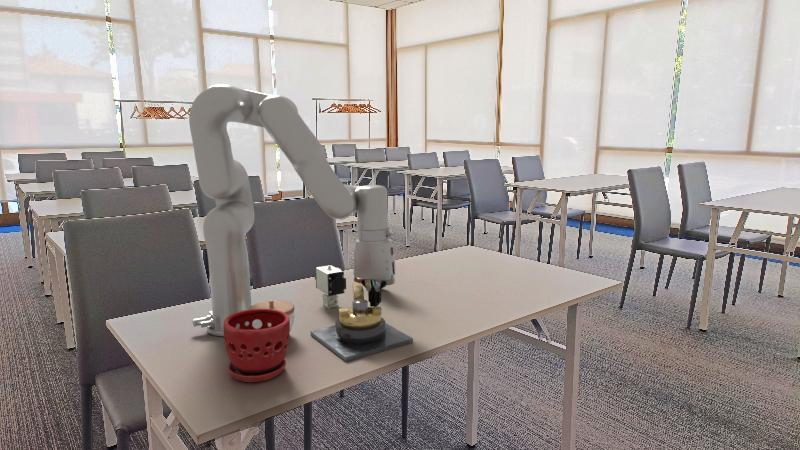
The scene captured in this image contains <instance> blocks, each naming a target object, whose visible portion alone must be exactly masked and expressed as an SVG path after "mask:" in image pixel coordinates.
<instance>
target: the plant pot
mask: <svg viewBox="0 0 800 450" xmlns="http://www.w3.org/2000/svg"><path fill="white" fill-rule="evenodd" d="M256 319H258V320H260V321H261V322H262V326H261V327H260V328H258V329H256V328H254V327H253V326H252V323H253V321H254V320H256ZM245 322H249V325H248V326H245ZM268 323H271V327H269V326H268ZM237 324H239V325H240V327H239V328H236V325H237ZM290 333H291V331H290V319H289V316H288V315H287V314H286V313H284V312H282V311H278V310H273V309H249V310H244V311H240V312H236V313H234V314H231V315H229V316H228V317H227V318H226V319H225V320H224V336H223V338H224V340H223V341H224V347H225V351H226V354H227V356H228V359H229V361H230V362H229V363H228V365H227V371H228V373H229V374H230V376H231V377H233V378H234V379H235V380H237V381H242V382H245V383H247V382H248V383H255V382H257V383H258V382H262V381H267V380H270V379H274V378H275V377H276V376H278V375H280V374H281V373H282V372H283V371H284V370H285V368H286V365H287V361H286V358H285V356H286V354H287V351H288V347H289V341H290Z"/></svg>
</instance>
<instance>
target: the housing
mask: <svg viewBox="0 0 800 450" xmlns="http://www.w3.org/2000/svg"><path fill="white" fill-rule="evenodd" d="M310 336H311V337H313V339H315V340H316V341H317V342H319V343H320V344H321V345H323V346H324V347H326V348H327V349H328V350H330V351H331V352H332V353H334V354H335V355H336V356H337V357H339V358H340V359H342V360H343V361H344V362H350V361H353V360H356V359H360V358H363V357H367V356H370V355H373V354H377V353H380V352H384V351H387V350H391V349H395V348H397V347H398V348H399V347H402V346H406V345H409V344H412V343H414V338H413V337H412V336H410V335H408V334H406V333H404V332H403V331H400V330H399V329H397V328H395V327H394V326H392V325H390V324H388V323H387V322H386V320H385V319H384V318H383V317H381V323H380V325H378V326H376V327H374V328H370V329H363V330H354V329H348V328H344V327H342V326H341V325H340V323H339V319H337V320H336V321H335V324H334V325H331V326H327V327H323V328H319V329H313V330H311V331H310Z"/></svg>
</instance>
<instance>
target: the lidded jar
mask: <svg viewBox="0 0 800 450" xmlns="http://www.w3.org/2000/svg"><path fill="white" fill-rule="evenodd" d="M249 309H273V310H278V311H282V312H284V313H286V314H287V315H288V316H289V319H290V332H291V331H292V329H293V326H294V322H295V304H294V303H293V302H290V301H288V300H281V299H274V300H273V299H268V300H264V301H260V302H256V303H254V304H251V307H250V308H249ZM252 326H253V327H254V328H256V329H258V328H260V327H261V326H262V322H261V321H260V320H258V319H256V320H254V321H253V323H252ZM268 326H269V327H271V323H268Z"/></svg>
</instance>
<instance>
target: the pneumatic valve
mask: <svg viewBox="0 0 800 450" xmlns="http://www.w3.org/2000/svg"><path fill="white" fill-rule="evenodd" d="M314 268H315V271H314V272H315V273H314V281H315V288H316V289H317V290H319V291H320V292H322V293H323V294H322V302H323V303H322V306H323V307H324V308H326V309H328V310H329V309H332V308H338V307H339V300H338V299H339V295H342V294H345V290H347V278H346V277H345V271H343V270H342V269H341V268H339V267H335V266H333V265H331V264H328V265H321V266H315V267H314Z"/></svg>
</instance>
